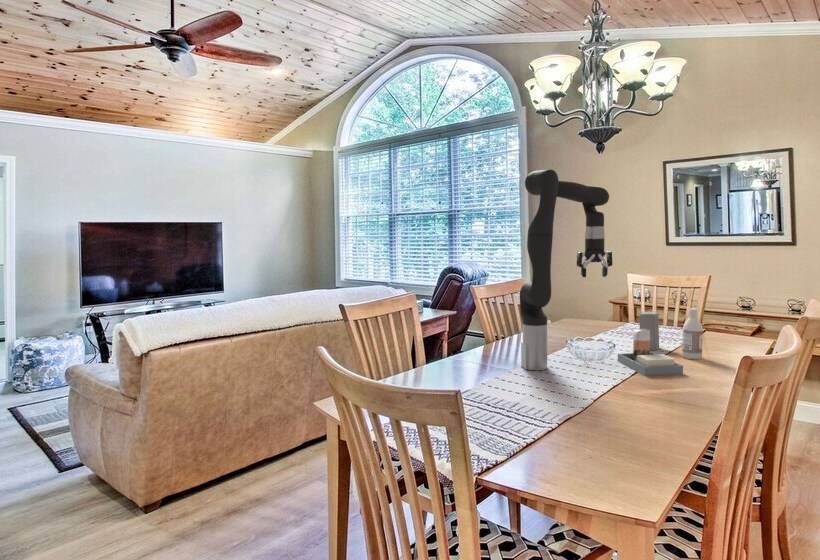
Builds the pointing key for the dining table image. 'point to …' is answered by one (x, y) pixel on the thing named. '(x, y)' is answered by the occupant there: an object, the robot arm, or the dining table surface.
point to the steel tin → (641, 343)
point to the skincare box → (651, 327)
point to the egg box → (655, 360)
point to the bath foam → (692, 336)
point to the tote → (649, 371)
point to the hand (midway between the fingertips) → (594, 276)
